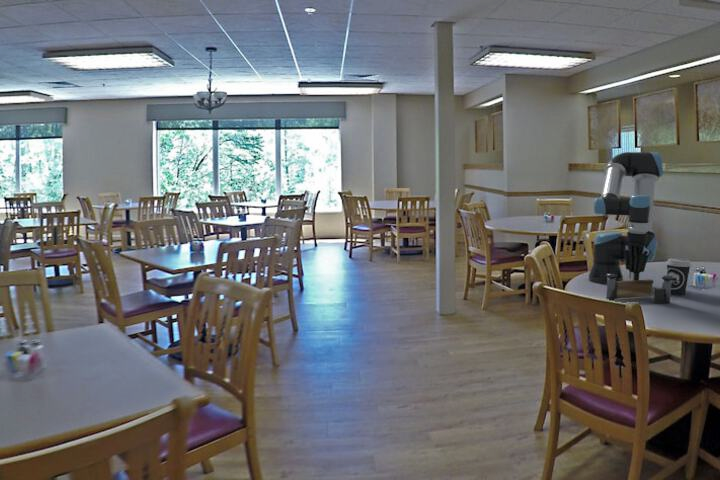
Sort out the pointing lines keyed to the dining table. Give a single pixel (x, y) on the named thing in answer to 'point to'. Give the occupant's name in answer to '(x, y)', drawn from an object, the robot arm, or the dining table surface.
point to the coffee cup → (678, 275)
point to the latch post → (663, 291)
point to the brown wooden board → (633, 289)
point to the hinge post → (611, 286)
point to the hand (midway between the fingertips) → (633, 287)
